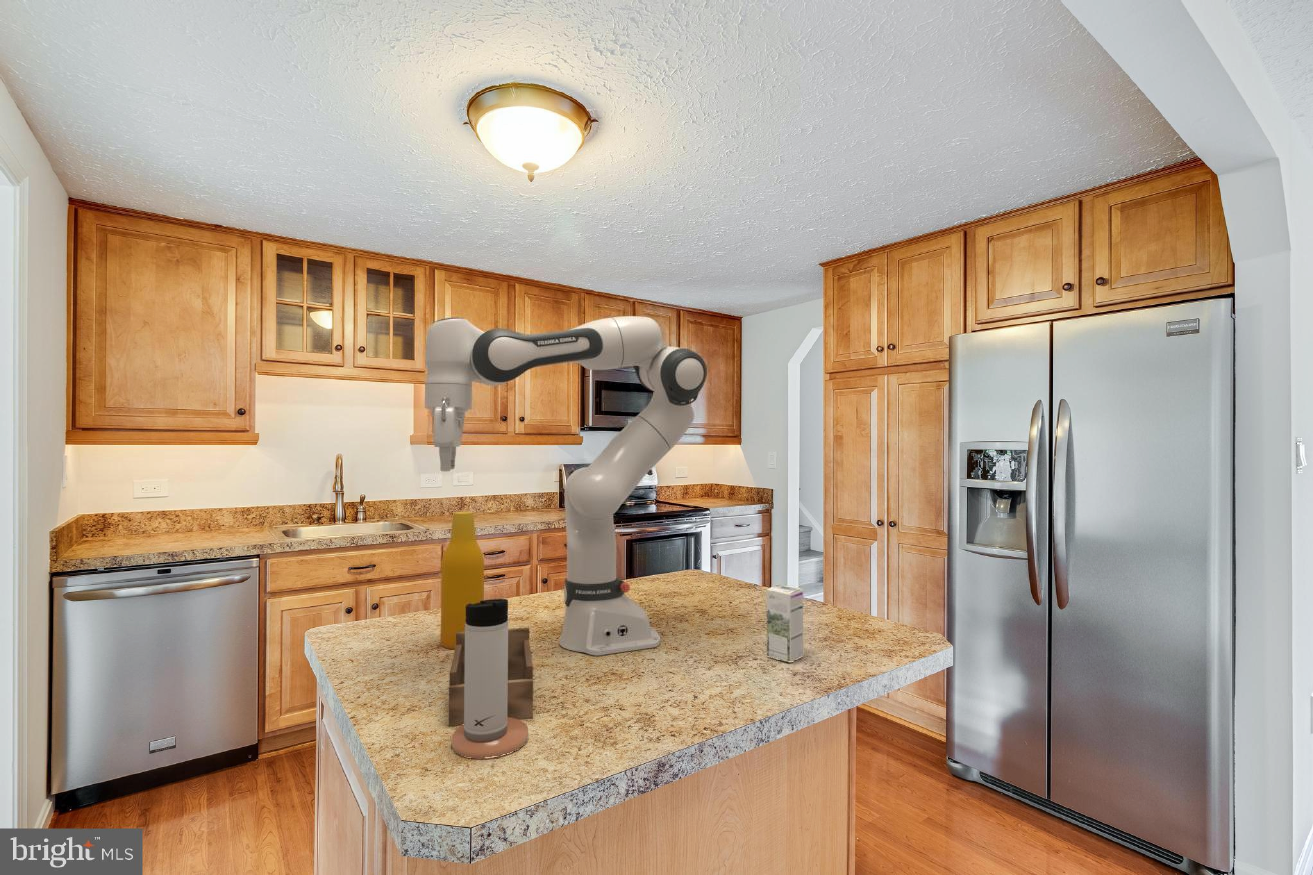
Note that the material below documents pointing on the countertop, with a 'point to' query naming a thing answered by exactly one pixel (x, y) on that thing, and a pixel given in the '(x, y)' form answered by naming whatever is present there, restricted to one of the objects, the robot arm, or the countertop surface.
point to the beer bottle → (460, 577)
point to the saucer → (498, 747)
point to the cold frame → (517, 677)
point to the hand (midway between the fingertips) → (447, 470)
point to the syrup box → (785, 622)
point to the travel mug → (486, 670)
